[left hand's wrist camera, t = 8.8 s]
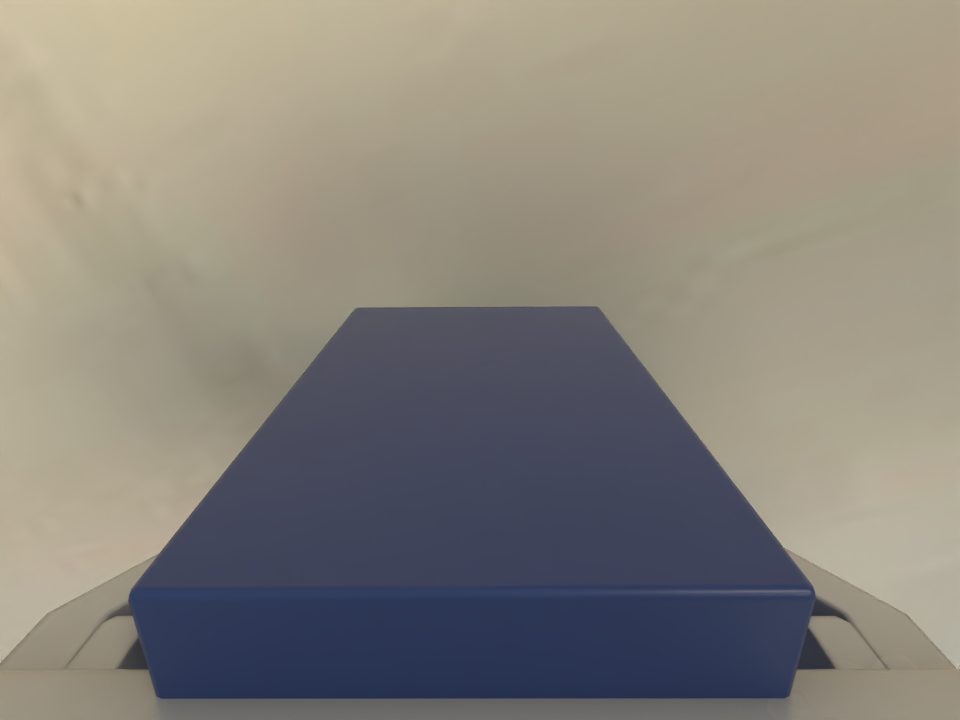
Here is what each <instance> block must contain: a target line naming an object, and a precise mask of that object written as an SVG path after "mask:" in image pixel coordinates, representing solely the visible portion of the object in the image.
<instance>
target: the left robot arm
mask: <svg viewBox="0 0 960 720" xmlns="http://www.w3.org/2000/svg"><path fill="white" fill-rule="evenodd" d="M784 549H785V548H784ZM785 550H786V552H787V553H788V554H789V555H790V557H791V558H792V559H793V561H794V562H795V563H796V565H797V566H798V567H799V568H800V570H801V571H802V572H803V574H804V575H805V576H806V578H807V579H808V580H809V581H810V583H811V584H812V585H813V588H814V591H815V596H816V599H815V603H814V607H813V611H812V614H811V618H810V622H809V625H808V629H807V633H806V637H805V640H804V644H803V648H802V652H801V655H800V659H799V663H798V667H797V670H796V674H795V678H794V682H793V685H792V689H791V693H790V696H788V697H786V698H594V699H161V698H159V697H157V696H156V694H155V690H154V687H153V684H152V680H151V677H150V673H149V670H148V667H147V663H146V660H145V656H144V653H143V650H142V646H141V643H140V639H139V636H138V633H137V629H136V626H135V622H134V619H133V616H132V612H131V609H130V605H129V602H128V599H129V594H130V591H131V588H132V587H133V586H134V585H135V583H136V582H137V581H138V580H139V578H140V577H141V576H142V575H143V573H144V572H145V571H146V570H147V568H148V567H149V566H150V565H151V563H152V562H153V561H154V560H155V558H156V557H157V556H158V555H159V554H157V555H156V556H154V557H152V558H150V559H148V560H146V561H144V562H143V563H141V564H139V565H137V566H135V567H133V568H131V569H129V570H128V571H126V572H124V573H122V574H120V575H118V576H116V577H115V578H113V579H111V580H109V581H107V582H105V583H103V584H101V585H100V586H98V587H96V588H94V589H92V590H90V591H88V592H87V593H85V594H83V595H81V596H79V597H77V598H75V599H74V600H72V601H70V602H68V603H66V604H64V605H62V606H60V607H59V608H57V609H55V610H53V611H51V612H49V613H47V614H46V615H45V616H44V617H43V619H42V620H41V621H40V622H39V623H38V624H37V625H36V626H35V627H34V628H33V629H32V630H31V631H30V632H29V633H28V634H27V635H26V637H25V638H24V639H23V640H22V641H21V642H20V643H19V644H18V645H17V646H16V647H15V648H14V649H13V650H12V651H11V652H10V654H9V655H8V656H7V657H6V658H5V659H4V660H3V661H2V662H1V663H0V720H960V669H957V668H956V667H955V666H954V665H953V664H952V663H951V662H950V661H949V660H948V659H947V658H946V657H945V655H944V654H943V653H942V652H941V651H940V650H939V649H938V648H937V647H936V646H935V645H934V643H933V642H932V641H931V640H930V639H929V638H928V637H927V636H926V635H925V634H924V633H923V632H922V630H921V629H920V628H919V627H918V626H917V625H916V624H915V623H914V622H913V621H912V620H911V619H910V617H909V616H908V615H907V614H905V613H903V612H901V611H899V610H898V609H896V608H894V607H892V606H890V605H888V604H887V603H885V602H883V601H881V600H879V599H877V598H875V597H874V596H872V595H870V594H868V593H866V592H864V591H863V590H861V589H859V588H857V587H855V586H853V585H852V584H850V583H848V582H846V581H844V580H842V579H840V578H839V577H837V576H835V575H833V574H831V573H829V572H828V571H826V570H824V569H822V568H820V567H818V566H817V565H815V564H813V563H811V562H809V561H807V560H805V559H804V558H802V557H800V556H798V555H796V554H794V553H793V552H791V551H789V550H787V549H785Z"/></svg>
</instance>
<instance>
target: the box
mask: <svg viewBox="0 0 960 720" xmlns="http://www.w3.org/2000/svg"><path fill="white" fill-rule="evenodd" d="M815 599H816V596H815V591H814V588H813V585H812V584H811V583H810V581H809V580H808V579H807V578H806V576H805V575H804V574H803V572H802V571H801V570H800V568H799V567H798V566H797V565H796V563H795V562H794V561H793V559H792V558H791V557H790V555H789V554H788V553H787V552H786V550H785V549H784V548H783V546H782V545H781V544H780V542H779V541H778V540H777V539H776V537H775V536H774V535H773V533H772V532H771V531H770V529H769V528H768V527H767V526H766V524H765V523H764V522H763V520H762V519H761V518H760V517H759V515H758V514H757V513H756V511H755V510H754V509H753V507H752V506H751V505H750V504H749V502H748V501H747V500H746V498H745V497H744V496H743V494H742V493H741V492H740V491H739V489H738V488H737V487H736V485H735V484H734V483H733V481H732V480H731V479H730V478H729V476H728V475H727V474H726V472H725V471H724V470H723V468H722V467H721V466H720V465H719V463H718V462H717V461H716V459H715V458H714V457H713V455H712V454H711V453H710V452H709V450H708V449H707V448H706V446H705V445H704V444H703V442H702V441H701V440H700V439H699V437H698V436H697V435H696V433H695V432H694V431H693V429H692V428H691V427H690V426H689V424H688V423H687V422H686V420H685V419H684V418H683V416H682V415H681V414H680V413H679V411H678V410H677V409H676V407H675V406H674V405H673V404H672V402H671V401H670V400H669V398H668V397H667V396H666V394H665V393H664V392H663V391H662V389H661V388H660V387H659V385H658V384H657V383H656V381H655V380H654V379H653V378H652V376H651V375H650V374H649V372H648V371H647V370H646V368H645V367H644V366H643V365H642V363H641V362H640V361H639V359H638V358H637V357H636V355H635V354H634V353H633V352H632V350H631V349H630V348H629V346H628V345H627V344H626V342H625V341H624V340H623V339H622V337H621V336H620V335H619V333H618V332H617V331H616V329H615V328H614V327H613V326H612V324H611V323H610V322H609V320H608V319H607V318H606V316H605V315H604V314H603V313H602V311H601V310H600V309H599V308H598V307H406V308H356V309H355V310H354V311H353V312H352V313H351V315H350V316H349V317H348V318H347V320H346V321H345V322H344V323H343V325H342V326H341V327H340V328H339V330H338V331H337V332H336V333H335V335H334V336H333V337H332V338H331V340H330V341H329V342H328V343H327V345H326V346H325V347H324V348H323V350H322V351H321V352H320V353H319V355H318V356H317V357H316V358H315V360H314V361H313V362H312V363H311V365H310V366H309V367H308V368H307V370H306V371H305V372H304V373H303V375H302V376H301V377H300V378H299V380H298V381H297V382H296V383H295V385H294V386H293V387H292V388H291V390H290V391H289V392H288V393H287V395H286V396H285V397H284V398H283V400H282V401H281V402H280V403H279V405H278V406H277V407H276V408H275V410H274V411H273V412H272V413H271V415H270V416H269V417H268V418H267V420H266V421H265V422H264V423H263V425H262V426H261V427H260V428H259V430H258V431H257V432H256V433H255V435H254V436H253V437H252V438H251V440H250V441H249V442H248V443H247V445H246V446H245V447H244V448H243V450H242V451H241V452H240V453H239V455H238V456H237V457H236V458H235V460H234V461H233V462H232V463H231V465H230V466H229V467H228V468H227V470H226V471H225V472H224V473H223V475H222V476H221V477H220V478H219V480H218V481H217V482H216V483H215V485H214V486H213V487H212V488H211V490H210V491H209V492H208V493H207V495H206V496H205V497H204V498H203V500H202V501H201V502H200V503H199V505H198V506H197V507H196V508H195V510H194V511H193V512H192V513H191V515H190V516H189V517H188V518H187V520H186V521H185V522H184V523H183V525H182V526H181V527H180V528H179V530H178V531H177V532H176V533H175V535H174V536H173V537H172V538H171V540H170V541H169V542H168V543H167V545H166V546H165V547H164V548H163V550H162V551H161V552H160V553H159V555H158V556H157V557H156V558H155V560H154V561H153V562H152V563H151V565H150V566H149V567H148V568H147V570H146V571H145V572H144V573H143V575H142V576H141V577H140V578H139V580H138V581H137V582H136V583H135V585H134V586H133V587H132V588H131V591H130V594H129V599H128V602H129V605H130V609H131V612H132V616H133V619H134V622H135V626H136V629H137V633H138V636H139V639H140V643H141V646H142V650H143V653H144V656H145V660H146V663H147V667H148V670H149V673H150V677H151V680H152V684H153V687H154V690H155V694H156V696H157V697H159V698H161V699H594V698H786V697H788V696H790V693H791V689H792V685H793V682H794V678H795V674H796V670H797V667H798V663H799V659H800V655H801V652H802V648H803V644H804V640H805V637H806V633H807V629H808V625H809V622H810V618H811V614H812V611H813V607H814V603H815Z"/></svg>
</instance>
